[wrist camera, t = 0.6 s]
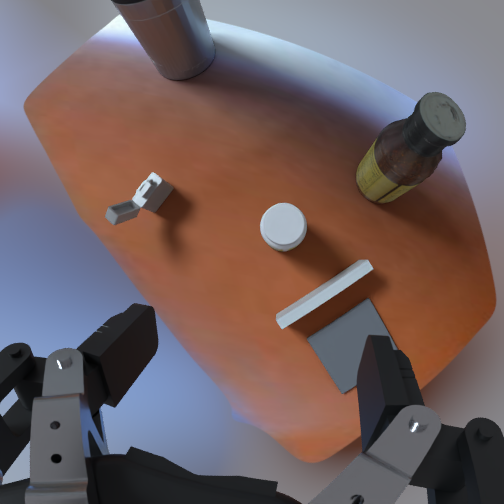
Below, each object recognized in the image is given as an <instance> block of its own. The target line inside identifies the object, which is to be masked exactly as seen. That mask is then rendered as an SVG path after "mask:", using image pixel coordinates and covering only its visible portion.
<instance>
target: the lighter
mask: <svg viewBox="0 0 504 504" xmlns="http://www.w3.org/2000/svg"><path fill="white" fill-rule="evenodd" d="M172 190H173V186H171V185H170V184H169V183H168V182H166V181H165V180H164V179H162V178H161V177H159V176H158V175H157V174H155V173H151V175H150V176H149V177H148V178H147V180H144V181H143V183H142V184H141V185H140V187H139V188H138V189H137V191H136V194H135V196H134V197H133V200H128V201H125V202H122V203H119V204H115V205H112V206H109V207H108V210H107V213H106V215H105V217H106V218H107V219H108V220H109V221H110V222H111V223H112V224H113V225H117V224H119V223H122V222H125V221H127V220H130V219H133V218H135V217H137V215H138V213H139V210H140V207H141V208H144V209H146V210H149V211H151V212H156V211H157V210H158V208H159V207H160V206H161V204H162V203H163V202H164V200H165V199H166V198H167V197H168V195H169V194H170V193H171V191H172Z"/></svg>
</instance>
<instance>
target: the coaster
mask: <svg viewBox="0 0 504 504" xmlns="http://www.w3.org/2000/svg"><path fill="white" fill-rule="evenodd" d="M368 335H383V336H389V337H390V340H391V343H392V346H393V350H398V349H397V347H396V346H395V344H394V342H393V340H392V338H391V336H390V335H389V333H388V331H387V329H386V327H385V325H384V324H383V322H382V320H381V318H380V317H379V315H378V313H377V311H376V310H375V308H374V306H373V304H372V303H371V301H370V299H369V298H367V299H366V300H364V301H363V302H361V303H360V304H358V305H357V306H355V307H354V308H352V309H351V310H350V311H348V312H347V313H345V314H344V315H342V316H341V317H339V318H338V319H336V320H335V321H333V322H331V323H330V324H328V325H327V326H325V327H324V328H322V329H321V330H319V331H318V332H316V333H314V334H313V335H311V336H310V337H308V338H307V340H308V342H309V343H310V345H311V346H312V348H313V349H314V351H315V353H316V354H317V356H318V357H319V359H320V360H321V362H322V363H323V365H324V367H325V368H326V370H327V371H328V373H329V374H330V376H331V377H332V379H333V381H334V382H335V384H336V385H337V387H338V388H339V390H340V391H341V393H342V394H343V393H345V392H346V391H348V390H349V389H351V388H353V387H354V386H356V385H357V372H358V368H359V364H360V361H361V357H362V354H363V350H364V346H365V342H366V339H367V336H368Z"/></svg>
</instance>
